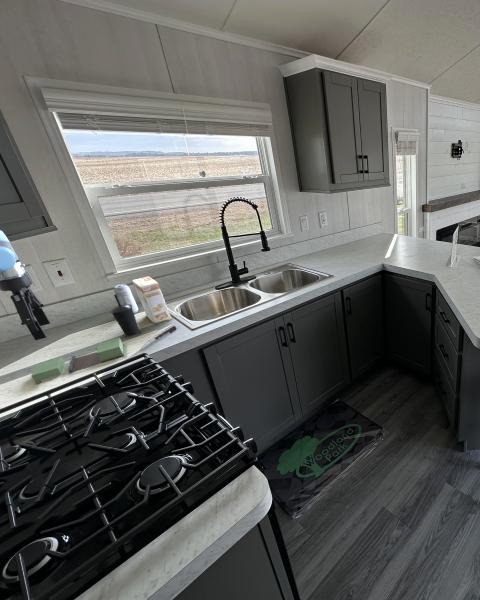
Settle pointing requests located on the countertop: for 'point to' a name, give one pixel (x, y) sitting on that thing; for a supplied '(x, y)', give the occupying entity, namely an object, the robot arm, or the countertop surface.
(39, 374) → the pad
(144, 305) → the coffeecake box
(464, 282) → the countertop surface
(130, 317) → the drinking cup
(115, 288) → the energy drink can
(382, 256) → the countertop surface
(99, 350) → the pad
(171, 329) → the kitchen knife
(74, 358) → the backing board
